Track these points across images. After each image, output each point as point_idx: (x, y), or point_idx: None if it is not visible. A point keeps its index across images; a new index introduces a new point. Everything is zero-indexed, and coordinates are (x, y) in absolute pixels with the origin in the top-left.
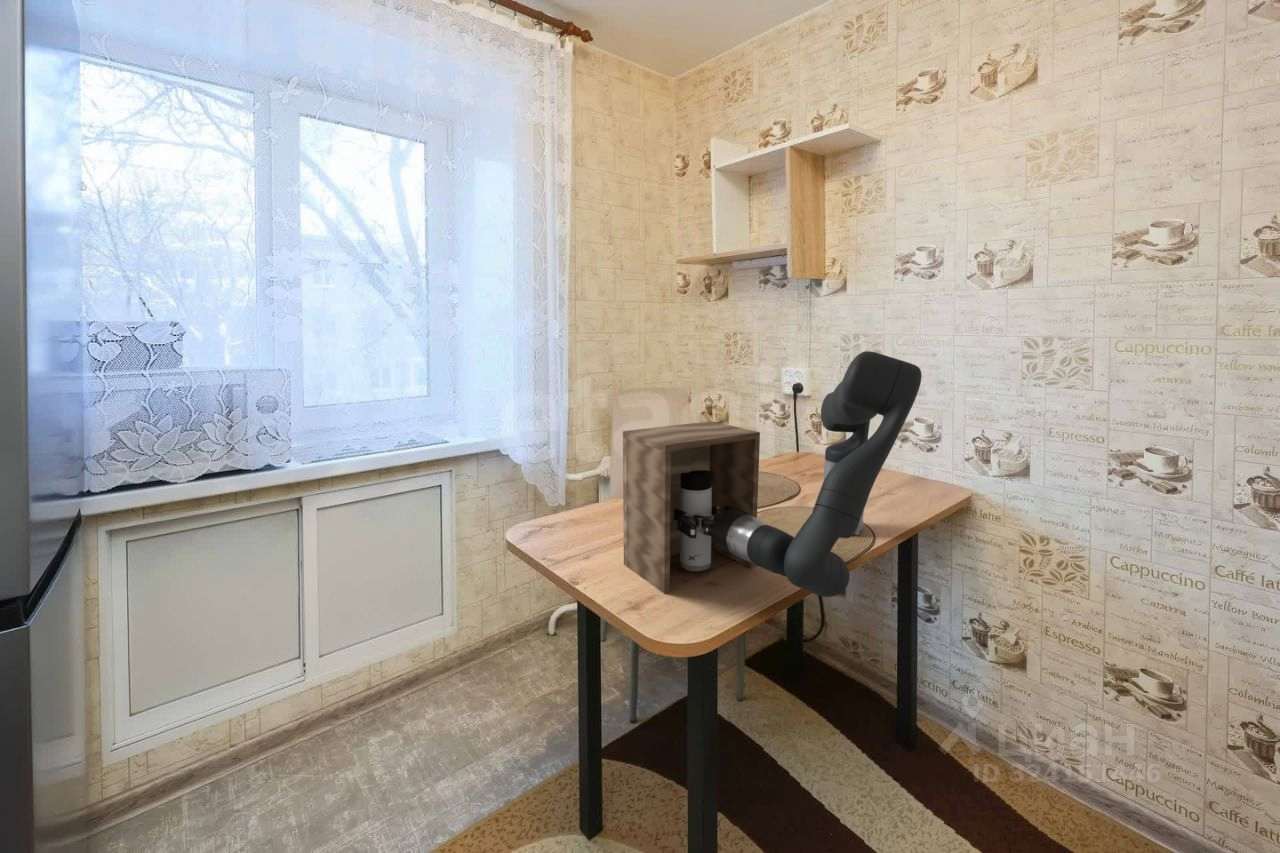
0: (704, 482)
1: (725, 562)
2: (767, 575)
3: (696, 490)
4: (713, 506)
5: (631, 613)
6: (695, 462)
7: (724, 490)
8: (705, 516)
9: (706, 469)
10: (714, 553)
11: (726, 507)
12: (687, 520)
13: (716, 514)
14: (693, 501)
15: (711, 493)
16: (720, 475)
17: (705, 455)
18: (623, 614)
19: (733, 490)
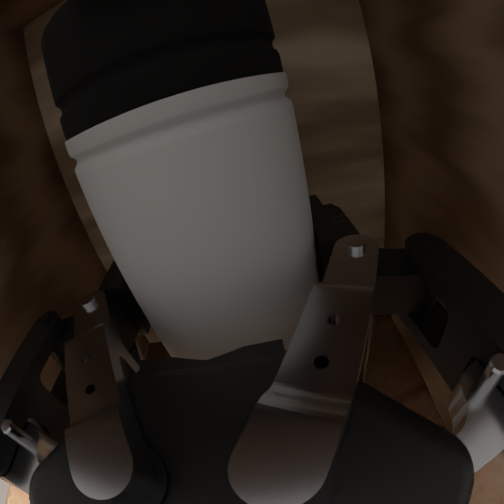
0: (109, 39)
1: (392, 398)
2: (479, 497)
3: (74, 133)
4: (336, 230)
5: (24, 499)
6: (300, 33)
7: (428, 136)
8: (71, 414)
9: (358, 62)
10: (381, 338)
11: (420, 254)
12: (15, 377)
13: (266, 367)
14: (97, 222)
15: (270, 134)
16: (407, 72)
17: (341, 12)
18: (16, 490)
19: (469, 135)
